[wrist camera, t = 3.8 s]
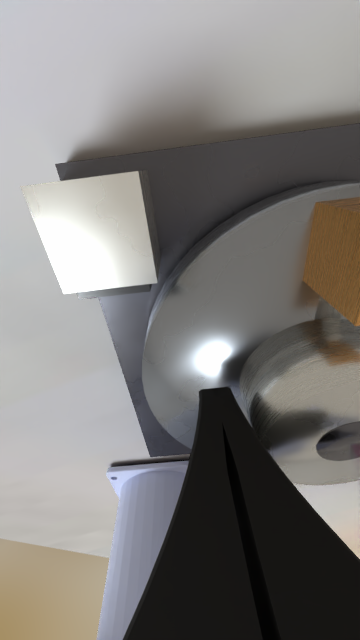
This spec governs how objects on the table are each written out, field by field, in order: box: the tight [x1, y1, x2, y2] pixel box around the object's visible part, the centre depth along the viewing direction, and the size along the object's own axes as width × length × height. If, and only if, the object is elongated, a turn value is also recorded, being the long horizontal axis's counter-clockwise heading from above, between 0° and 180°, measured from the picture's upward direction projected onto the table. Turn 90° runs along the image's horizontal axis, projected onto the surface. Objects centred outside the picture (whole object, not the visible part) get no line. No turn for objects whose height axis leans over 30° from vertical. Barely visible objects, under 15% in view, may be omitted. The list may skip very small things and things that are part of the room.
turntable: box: [142, 180, 360, 449], centre depth 10 cm, size 15×15×5 cm
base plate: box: [20, 123, 360, 457], centre depth 12 cm, size 18×18×3 cm
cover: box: [239, 318, 360, 485], centre depth 9 cm, size 6×6×3 cm
